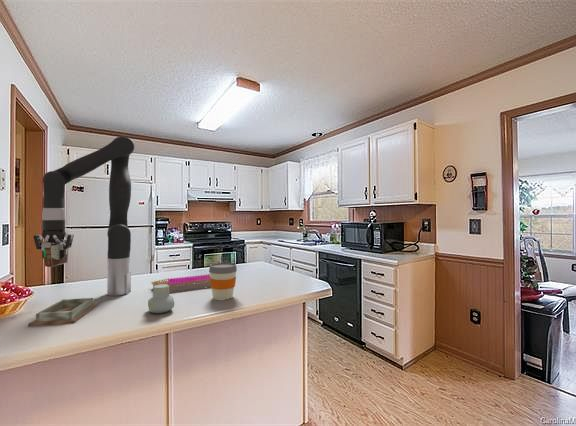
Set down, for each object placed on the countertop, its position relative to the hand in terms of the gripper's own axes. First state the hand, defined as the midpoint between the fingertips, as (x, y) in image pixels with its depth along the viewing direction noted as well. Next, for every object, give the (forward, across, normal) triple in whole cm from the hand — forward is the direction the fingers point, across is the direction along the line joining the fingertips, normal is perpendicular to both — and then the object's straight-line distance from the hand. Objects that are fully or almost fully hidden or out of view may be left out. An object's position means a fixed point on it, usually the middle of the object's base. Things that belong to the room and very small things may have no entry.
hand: (54, 258), depth 121 cm
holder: (+19, -12, +15) cm, 27 cm away
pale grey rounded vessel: (+20, -46, +18) cm, 53 cm away
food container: (+3, +1, 0) cm, 3 cm away
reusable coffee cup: (+20, -70, +4) cm, 73 cm away
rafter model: (+21, -52, -18) cm, 59 cm away
